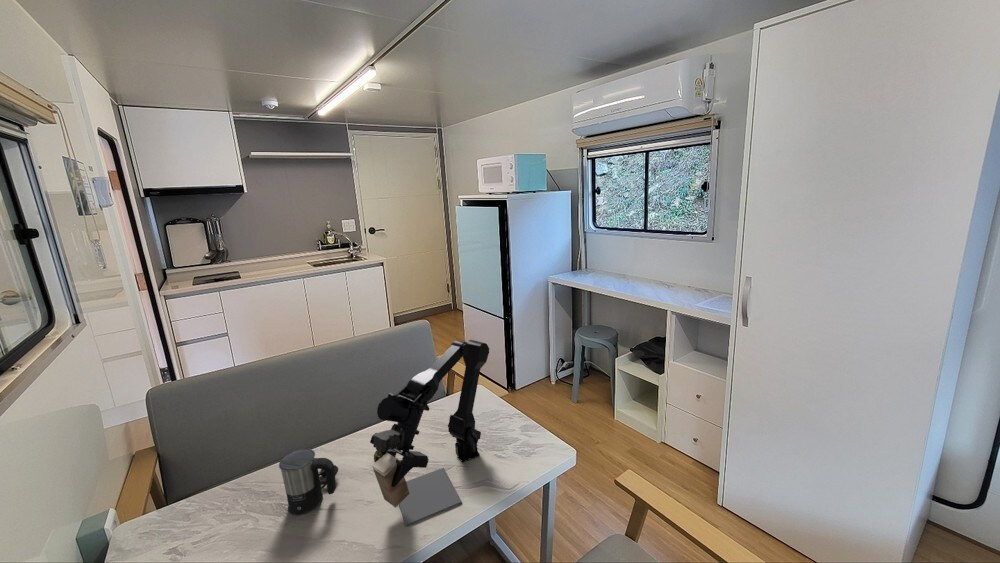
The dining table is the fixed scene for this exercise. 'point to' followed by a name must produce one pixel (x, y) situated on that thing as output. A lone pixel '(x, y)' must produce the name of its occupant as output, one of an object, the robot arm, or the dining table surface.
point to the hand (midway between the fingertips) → (386, 482)
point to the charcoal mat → (428, 496)
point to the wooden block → (390, 480)
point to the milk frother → (306, 479)
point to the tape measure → (376, 456)
